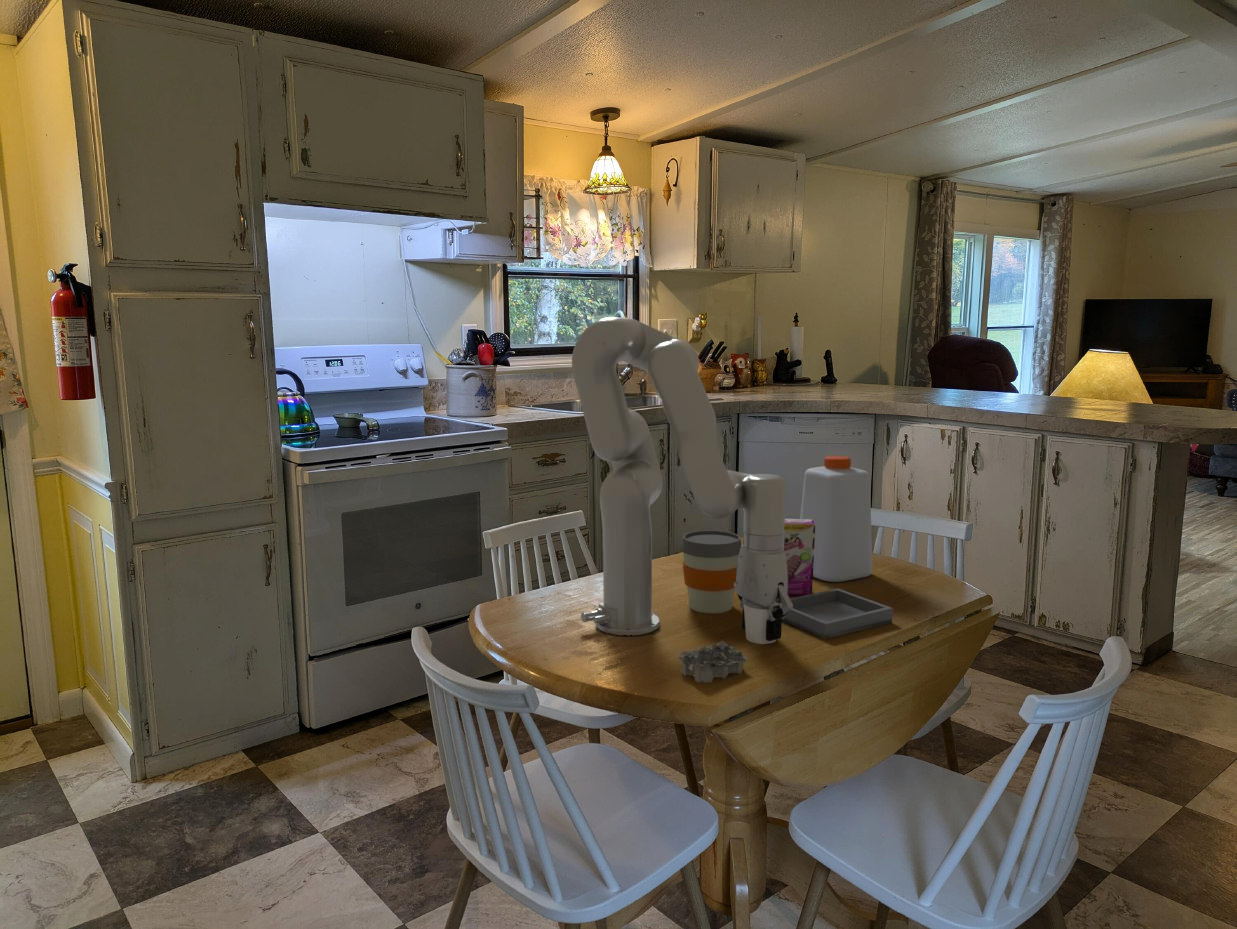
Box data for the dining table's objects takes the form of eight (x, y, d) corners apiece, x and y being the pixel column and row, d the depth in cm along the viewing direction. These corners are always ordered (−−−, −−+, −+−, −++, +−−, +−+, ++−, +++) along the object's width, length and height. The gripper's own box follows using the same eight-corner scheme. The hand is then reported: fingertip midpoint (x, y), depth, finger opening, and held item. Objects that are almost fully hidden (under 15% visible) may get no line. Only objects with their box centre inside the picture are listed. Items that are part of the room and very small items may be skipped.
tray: (824, 639, 159) (825, 624, 158) (772, 616, 171) (772, 602, 171) (892, 622, 168) (892, 608, 167) (837, 601, 180) (837, 588, 180)
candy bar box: (761, 595, 185) (763, 522, 182) (760, 588, 190) (761, 517, 187) (813, 596, 184) (816, 523, 181) (810, 590, 189) (813, 518, 186)
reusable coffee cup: (750, 603, 180) (752, 534, 177) (724, 620, 169) (725, 547, 167) (698, 593, 186) (699, 527, 184) (669, 609, 176) (670, 539, 174)
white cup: (785, 636, 160) (786, 600, 159) (771, 647, 155) (772, 611, 153) (751, 629, 164) (752, 595, 163) (736, 640, 158) (737, 604, 157)
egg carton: (700, 687, 138) (700, 663, 138) (674, 671, 145) (674, 649, 144) (751, 673, 144) (751, 650, 143) (723, 658, 150) (723, 637, 150)
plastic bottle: (787, 569, 205) (791, 455, 201) (835, 561, 212) (839, 451, 208) (830, 585, 192) (835, 464, 187) (879, 576, 199) (885, 459, 194)
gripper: (719, 534, 162) (717, 623, 165) (779, 554, 147) (776, 652, 150) (749, 529, 165) (747, 617, 168) (811, 548, 151) (808, 644, 154)
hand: (761, 632), depth 159 cm, fingers closed on white cup, 6 cm apart
